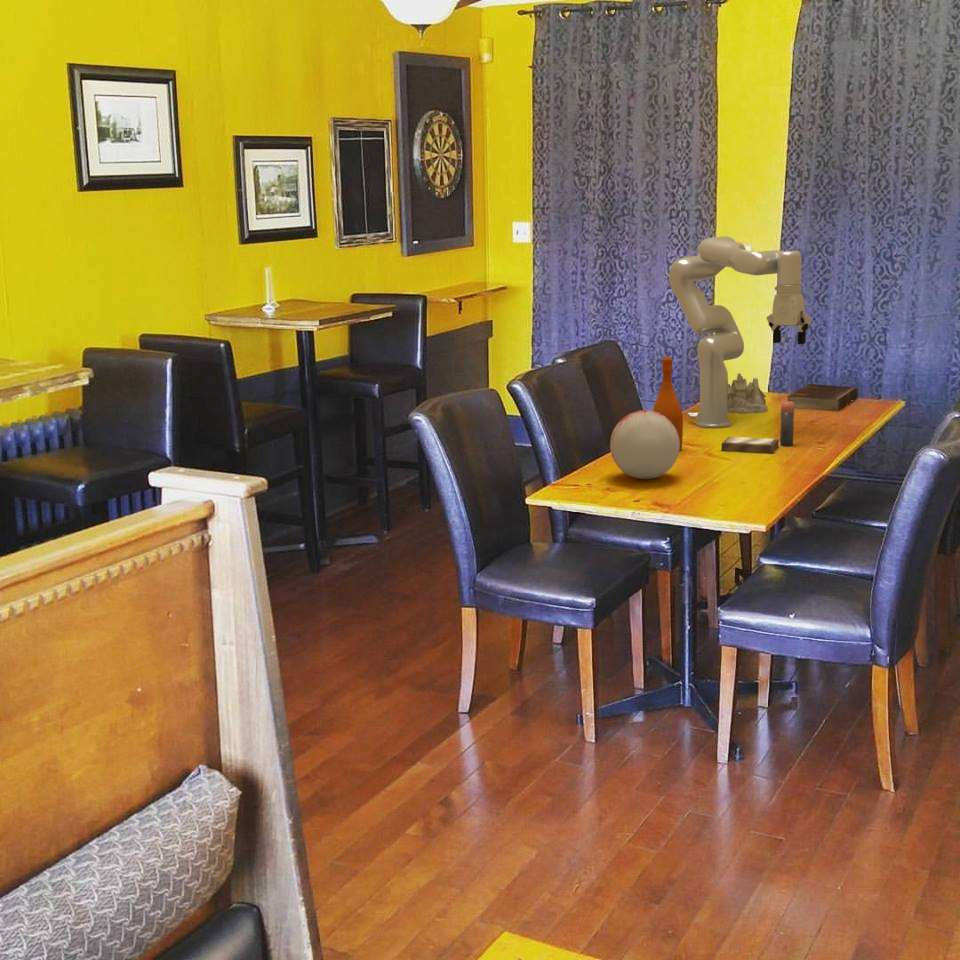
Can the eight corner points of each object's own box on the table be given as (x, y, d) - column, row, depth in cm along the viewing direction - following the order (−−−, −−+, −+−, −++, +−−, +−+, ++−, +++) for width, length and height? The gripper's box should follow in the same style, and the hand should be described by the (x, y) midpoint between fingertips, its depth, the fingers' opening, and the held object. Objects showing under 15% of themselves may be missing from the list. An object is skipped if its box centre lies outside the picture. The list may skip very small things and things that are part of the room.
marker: (779, 446, 393) (780, 403, 390) (781, 443, 397) (782, 400, 393) (791, 446, 392) (793, 403, 388) (794, 444, 395) (795, 401, 392)
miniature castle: (770, 412, 447) (769, 371, 445) (725, 415, 448) (723, 374, 445) (761, 407, 463) (760, 367, 460) (717, 410, 463) (716, 371, 461)
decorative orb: (608, 471, 368) (607, 405, 363) (675, 469, 367) (675, 403, 363) (613, 488, 348) (612, 419, 343) (684, 486, 347) (684, 417, 342)
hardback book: (838, 412, 446) (838, 399, 445) (787, 409, 455) (787, 396, 454) (857, 399, 470) (858, 386, 469) (809, 396, 479) (809, 383, 478)
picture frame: (721, 450, 389) (721, 442, 389) (728, 444, 398) (728, 436, 398) (772, 453, 383) (772, 445, 382) (778, 447, 392) (778, 438, 391)
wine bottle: (686, 447, 396) (686, 355, 389) (677, 453, 387) (678, 359, 380) (656, 445, 400) (656, 354, 393) (647, 452, 392) (647, 358, 384)
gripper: (760, 290, 398) (760, 343, 402) (804, 291, 385) (804, 345, 388) (774, 288, 403) (775, 341, 406) (818, 289, 389) (818, 343, 393)
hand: (789, 343), depth 397 cm, fingers open, 9 cm apart
